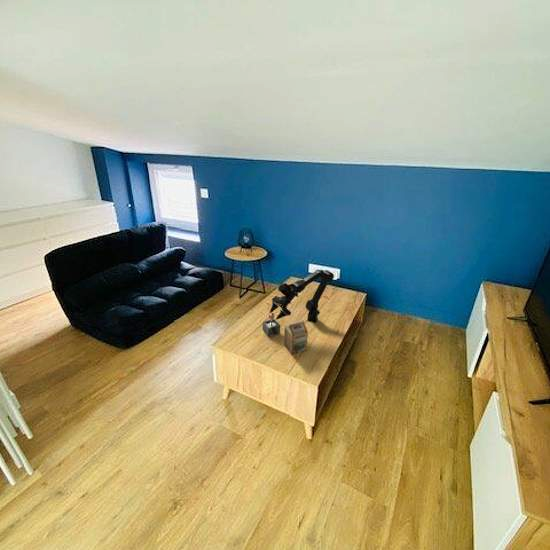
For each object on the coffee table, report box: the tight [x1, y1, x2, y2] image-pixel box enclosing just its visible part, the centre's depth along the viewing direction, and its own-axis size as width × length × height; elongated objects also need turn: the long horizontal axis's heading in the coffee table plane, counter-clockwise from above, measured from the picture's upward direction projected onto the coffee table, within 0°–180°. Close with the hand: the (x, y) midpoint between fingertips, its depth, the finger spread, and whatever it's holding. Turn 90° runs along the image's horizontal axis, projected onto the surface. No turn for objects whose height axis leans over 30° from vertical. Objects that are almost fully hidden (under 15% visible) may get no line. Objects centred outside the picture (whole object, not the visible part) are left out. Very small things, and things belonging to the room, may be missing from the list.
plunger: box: [266, 312, 276, 327], centre depth 198 cm, size 7×7×9 cm
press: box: [262, 318, 281, 337], centre depth 200 cm, size 9×11×6 cm
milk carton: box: [283, 320, 309, 356], centre depth 183 cm, size 11×11×19 cm
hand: (273, 315), depth 198 cm, fingers open, 9 cm apart
